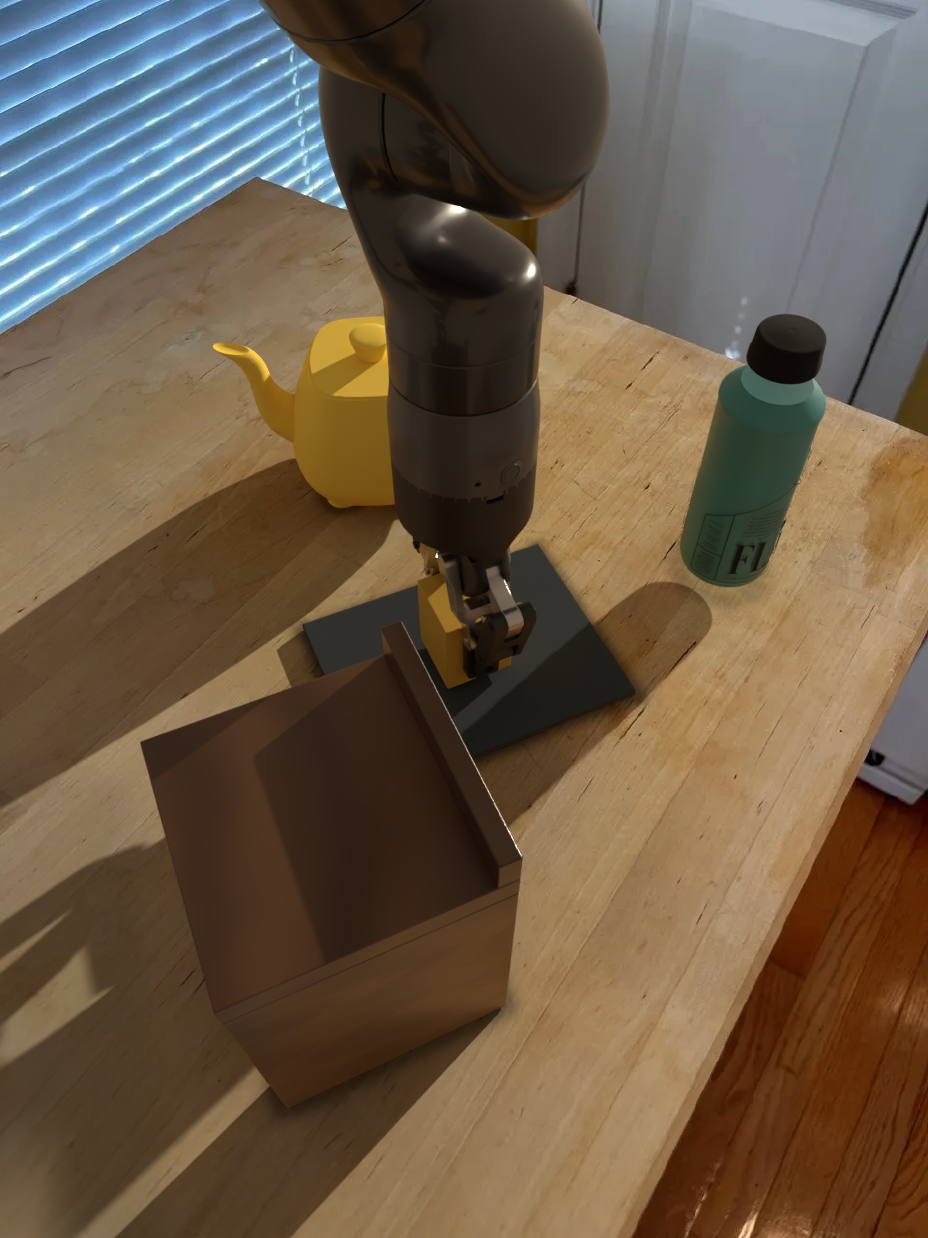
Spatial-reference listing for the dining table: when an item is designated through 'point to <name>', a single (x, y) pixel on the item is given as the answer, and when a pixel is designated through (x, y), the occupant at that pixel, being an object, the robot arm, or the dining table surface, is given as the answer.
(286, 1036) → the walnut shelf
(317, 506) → the dining table surface
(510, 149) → the robot arm
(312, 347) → the teapot
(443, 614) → the yellow block
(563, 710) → the slate mat
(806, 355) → the beverage bottle
